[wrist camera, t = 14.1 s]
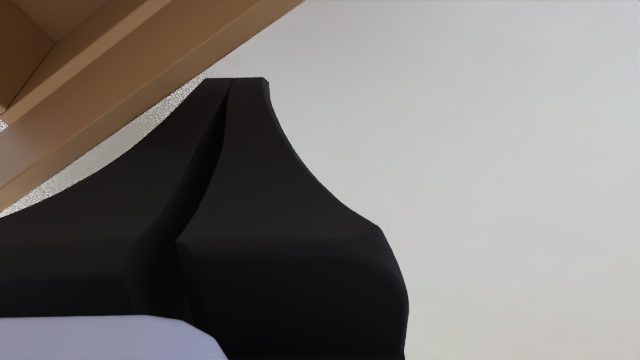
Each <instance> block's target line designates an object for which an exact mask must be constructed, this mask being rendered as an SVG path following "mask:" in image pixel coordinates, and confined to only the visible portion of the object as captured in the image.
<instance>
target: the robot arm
mask: <svg viewBox="0 0 640 360" xmlns="http://www.w3.org/2000/svg"><path fill="white" fill-rule="evenodd" d="M408 314H409V301H408V294H407V289H406V286H405V282H404V279H403V276H402V273H401V271H400V268H399V265H398V263H397V260H396V258H395V256H394V254H393V252H392V249H391V247H390V245H389V243H388V241H387V239H386V237H385V235H384V234H383V232H382V230H381V229H380V228H379V227H378V226H377V225H375V224H374V223H372V222H370V221H369V220H367V219H366V218H364V217H362V216H361V215H359V214H357V213H356V212H354V211H352V210H351V209H349V208H348V207H347V206H345V205H344V204H343V203H341V202H340V201H339V200H338V199H337V198H336V197H335V196H334V195H333V194H332V193H331V192H330V191H328V190H327V189H326V188H325V187H324V186H323V185H322V184H321V183H320V182H319V181H318V180H317V179H316V177H315V176H314V175H313V174H312V173H311V172H310V171H309V169H308V168H307V167H306V166H305V164H304V163H303V162H302V160H301V159H300V158H299V156H298V155H297V153H296V152H295V150H294V149H293V147H292V145H291V144H290V142H289V140H288V139H287V137H286V135H285V133H284V132H283V130H282V128H281V126H280V123H279V121H278V119H277V117H276V115H275V112H274V110H273V107H272V104H271V100H270V90H269V82H268V81H267V80H266V79H265V78H264V77H254V78H205V79H204V80H203V81H202V82H201V83H200V84H199V85H198V86H197V87H196V88H195V89H194V90H193V91H192V92H191V93H190V94H189V95H188V96H187V97H186V98H185V99H184V100H183V101H182V103H181V104H180V105H179V106H178V107H177V108H176V109H175V110H174V111H173V112H172V113H171V114H170V115H169V116H168V117H166V118H165V119H164V120H163V121H162V122H161V123H160V124H159V125H158V126H157V127H156V128H154V129H153V130H152V131H151V132H150V133H149V134H147V135H146V136H145V137H144V138H143V139H142V140H140V141H139V142H138V143H137V144H136V145H134V146H133V147H132V148H131V149H129V150H128V151H127V152H125V153H124V154H123V155H121V156H120V157H118V158H117V159H115V160H114V161H112V162H111V163H109V164H108V165H106V166H105V167H103V168H102V169H100V170H99V171H97V172H95V173H94V174H92V175H90V176H88V177H87V178H85V179H83V180H81V181H79V182H78V183H76V184H74V185H72V186H70V187H69V188H67V189H65V190H63V191H61V192H59V193H57V194H55V195H53V196H51V197H49V198H47V199H45V200H43V201H40V202H38V203H36V204H34V205H31V206H29V207H27V208H24V209H22V210H20V211H17V212H15V213H12V214H9V215H7V216H4V217H1V218H0V360H405V356H404V346H405V338H406V330H407V322H408Z"/></svg>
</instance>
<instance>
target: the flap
mask: <svg viewBox="0 0 640 360" xmlns="http://www.w3.org/2000/svg"><path fill="white" fill-rule="evenodd" d="M304 1H305V0H172V1H170V2H169V3H168V4H166V5H165V6H164V7H162V8H161V9H160V10H159V11H157V12H156V13H155V14H153V15H152V16H151V17H150V18H148V19H147V20H146V21H144V22H143V23H142V24H140V25H139V26H138V27H137V28H135V29H134V30H133V31H131V32H130V33H129V34H127V35H126V36H125V37H124V38H122V39H121V40H120V41H118V42H117V43H116V44H115V45H113V46H112V47H111V48H109V49H108V50H107V51H105V52H104V53H103V54H102V55H100V56H99V57H98V58H96V59H95V60H94V61H93V62H91V63H90V64H89V65H87V66H86V67H85V68H83V69H82V70H81V71H80V72H78V73H77V74H76V75H74V76H73V77H72V78H70V79H69V80H68V81H67V82H65V83H64V84H63V85H61V86H60V87H59V88H58V89H56V90H55V91H54V92H52V93H51V94H50V95H48V96H47V97H46V98H45V99H43V100H42V101H41V102H39V103H38V104H37V105H35V106H34V107H33V108H32V109H30V110H29V111H28V112H26V113H25V114H24V115H23V116H21V117H20V118H19V119H17V120H16V121H15V122H13V123H12V124H11V125H10V126H8V127H7V128H6V129H4V130H3V131H2V132H0V213H1V212H2V211H4V210H5V209H7V208H8V207H10V206H11V205H12V204H14V203H15V202H17V201H18V200H20V199H21V198H23V197H24V196H25V195H27V194H28V193H30V192H31V191H33V190H34V189H35V188H37V187H38V186H40V185H41V184H43V183H44V182H45V181H47V180H48V179H50V178H51V177H53V176H54V175H55V174H57V173H58V172H60V171H61V170H63V169H64V168H66V167H67V166H68V165H70V164H71V163H73V162H74V161H76V160H77V159H78V158H80V157H81V156H83V155H84V154H86V153H87V152H88V151H90V150H91V149H93V148H94V147H96V146H97V145H99V144H100V143H101V142H103V141H104V140H106V139H107V138H109V137H110V136H111V135H113V134H114V133H116V132H117V131H119V130H120V129H121V128H123V127H124V126H126V125H127V124H129V123H130V122H131V121H133V120H134V119H136V118H137V117H139V116H140V115H142V114H143V113H144V112H146V111H147V110H149V109H150V108H152V107H153V106H154V105H156V104H157V103H159V102H160V101H162V100H163V99H164V98H166V97H167V96H169V95H170V94H172V93H173V92H175V91H176V90H177V89H179V88H180V87H182V86H183V85H185V84H186V83H187V82H189V81H190V80H192V79H193V78H195V77H196V76H197V75H199V74H200V73H202V72H203V71H205V70H206V69H207V68H209V67H210V66H212V65H213V64H215V63H216V62H218V61H219V60H220V59H222V58H223V57H225V56H226V55H228V54H229V53H230V52H232V51H233V50H235V49H236V48H238V47H239V46H240V45H242V44H243V43H245V42H246V41H248V40H249V39H251V38H252V37H253V36H255V35H256V34H258V33H259V32H261V31H262V30H263V29H265V28H266V27H268V26H269V25H271V24H272V23H273V22H275V21H276V20H278V19H279V18H281V17H282V16H283V15H285V14H286V13H288V12H289V11H291V10H292V9H294V8H295V7H296V6H298V5H299V4H301V3H302V2H304Z"/></svg>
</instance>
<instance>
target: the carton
mask: <svg viewBox="0 0 640 360" xmlns="http://www.w3.org/2000/svg"><path fill="white" fill-rule="evenodd" d="M170 1H172V0H0V119H1V120H2V121H3V122H4V123H6V124H7V125H8V126H10V125H11V124H12V123H13V122H15V121H16V120H17V119H19V118H20V117H21V116H23V115H24V114H25V113H26V112H28V111H29V110H30V109H32V108H33V107H34V106H35V105H37V104H38V103H39V102H41V101H42V100H43V99H45V98H46V97H47V96H48V95H50V94H51V93H52V92H54V91H55V90H56V89H58V88H59V87H60V86H61V85H63V84H64V83H65V82H67V81H68V80H69V79H70V78H72V77H73V76H74V75H76V74H77V73H78V72H80V71H81V70H82V69H83V68H85V67H86V66H87V65H89V64H90V63H91V62H93V61H94V60H95V59H96V58H98V57H99V56H100V55H102V54H103V53H104V52H105V51H107V50H108V49H109V48H111V47H112V46H113V45H115V44H116V43H117V42H118V41H120V40H121V39H122V38H124V37H125V36H126V35H127V34H129V33H130V32H131V31H133V30H134V29H135V28H137V27H138V26H139V25H140V24H142V23H143V22H144V21H146V20H147V19H148V18H150V17H151V16H152V15H153V14H155V13H156V12H157V11H159V10H160V9H161V8H162V7H164V6H165V5H166V4H168V3H169V2H170Z"/></svg>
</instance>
